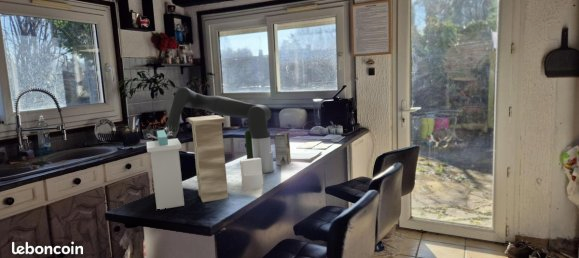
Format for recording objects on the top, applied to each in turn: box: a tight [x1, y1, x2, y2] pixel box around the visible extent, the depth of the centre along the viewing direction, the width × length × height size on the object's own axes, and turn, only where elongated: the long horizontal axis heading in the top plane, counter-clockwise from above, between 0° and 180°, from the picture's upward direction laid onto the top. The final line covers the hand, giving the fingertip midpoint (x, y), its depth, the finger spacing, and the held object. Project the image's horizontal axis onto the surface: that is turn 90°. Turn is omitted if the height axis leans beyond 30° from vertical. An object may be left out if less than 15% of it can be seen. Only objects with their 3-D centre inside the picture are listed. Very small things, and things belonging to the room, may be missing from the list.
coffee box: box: [273, 132, 292, 166], centre depth 212 cm, size 9×6×16 cm
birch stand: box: [187, 114, 229, 203], centre depth 158 cm, size 18×12×32 cm, turn 20°
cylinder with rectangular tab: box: [239, 158, 264, 190], centre depth 170 cm, size 9×9×12 cm
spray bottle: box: [244, 117, 253, 159], centre depth 227 cm, size 10×10×25 cm
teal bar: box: [157, 129, 168, 146], centre depth 157 cm, size 24×3×3 cm, turn 20°
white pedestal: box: [146, 138, 185, 210], centre depth 153 cm, size 18×12×24 cm, turn 20°
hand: (159, 126), depth 175 cm, fingers open, 8 cm apart
